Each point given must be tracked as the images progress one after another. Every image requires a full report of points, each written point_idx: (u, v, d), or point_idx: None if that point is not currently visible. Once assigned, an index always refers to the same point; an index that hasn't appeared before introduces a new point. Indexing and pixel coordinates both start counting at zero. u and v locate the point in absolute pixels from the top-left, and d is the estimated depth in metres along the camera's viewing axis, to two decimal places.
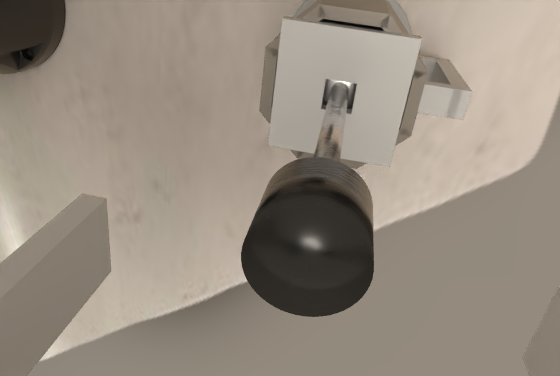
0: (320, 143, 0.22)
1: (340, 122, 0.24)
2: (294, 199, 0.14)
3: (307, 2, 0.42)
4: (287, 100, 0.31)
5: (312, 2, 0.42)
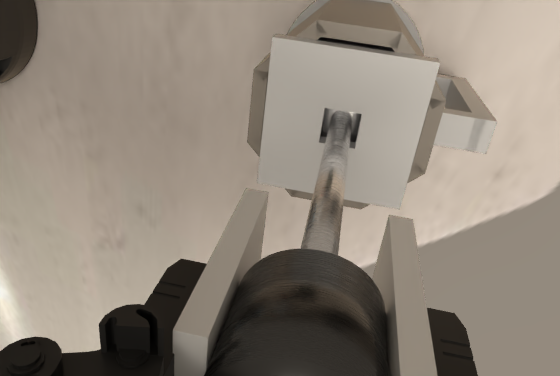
0: (315, 203, 0.17)
1: (341, 169, 0.20)
2: (270, 339, 0.09)
3: (305, 12, 0.37)
4: (279, 132, 0.26)
5: (310, 12, 0.37)
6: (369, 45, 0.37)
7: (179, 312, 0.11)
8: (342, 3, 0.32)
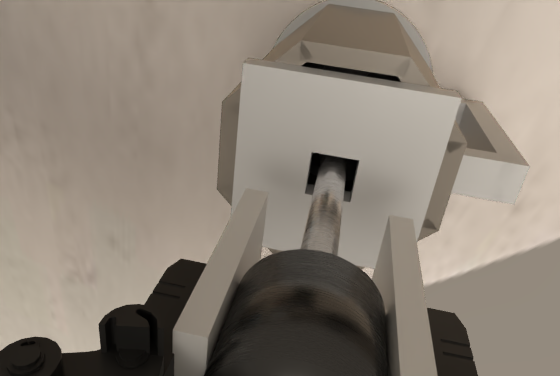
0: (315, 203, 0.17)
1: (341, 169, 0.20)
2: (269, 340, 0.09)
3: (293, 23, 0.32)
4: (255, 180, 0.20)
5: (300, 23, 0.32)
6: None
7: (179, 312, 0.11)
8: (336, 14, 0.26)
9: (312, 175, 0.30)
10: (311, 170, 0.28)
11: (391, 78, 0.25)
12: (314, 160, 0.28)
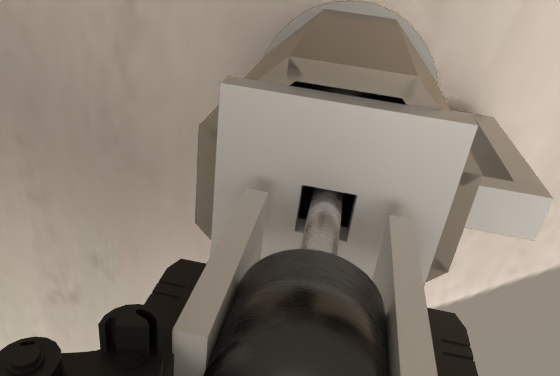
0: (315, 203, 0.17)
1: None
2: (269, 340, 0.09)
3: (286, 30, 0.29)
4: None
5: (293, 30, 0.29)
6: None
7: (179, 312, 0.11)
8: (332, 21, 0.24)
9: (306, 197, 0.27)
10: None
11: None
12: None
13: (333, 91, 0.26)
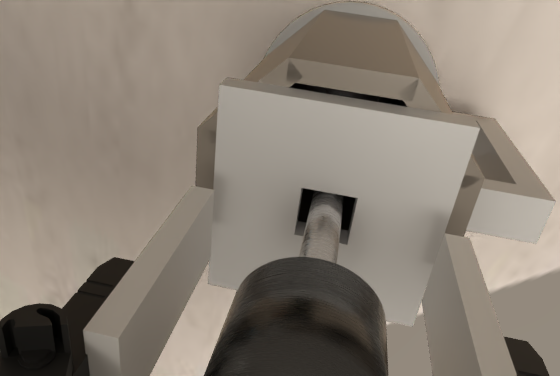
0: (314, 208, 0.17)
1: None
2: (266, 353, 0.09)
3: (286, 31, 0.29)
4: (236, 218, 0.18)
5: (293, 31, 0.29)
6: None
7: None
8: (332, 22, 0.23)
9: (306, 199, 0.27)
10: None
11: None
12: None
13: (333, 93, 0.26)
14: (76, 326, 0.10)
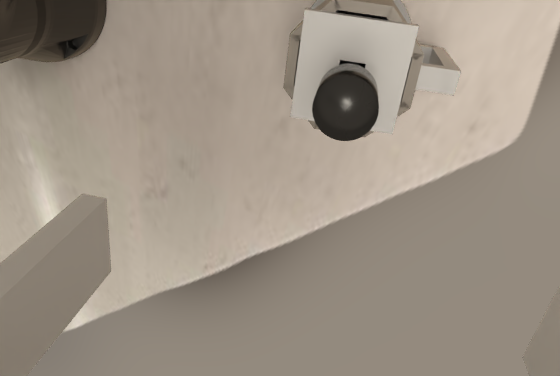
0: None
1: None
2: (339, 75, 0.28)
3: None
4: (307, 78, 0.37)
5: None
6: None
7: None
8: None
9: None
10: None
11: None
12: None
13: None
14: None
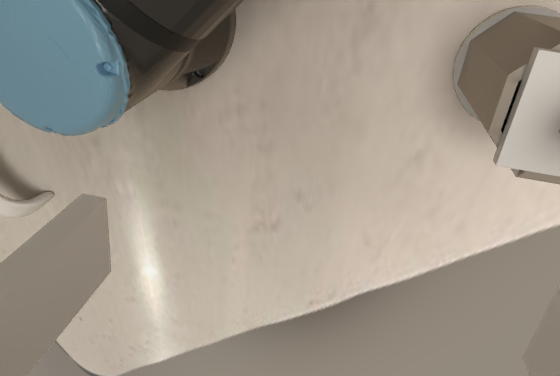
0: None
1: None
2: None
3: (485, 25, 0.44)
4: (526, 124, 0.33)
5: (490, 25, 0.44)
6: None
7: None
8: (540, 19, 0.39)
9: None
10: (505, 117, 0.43)
11: None
12: (508, 110, 0.43)
13: None
14: None
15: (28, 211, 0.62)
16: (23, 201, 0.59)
